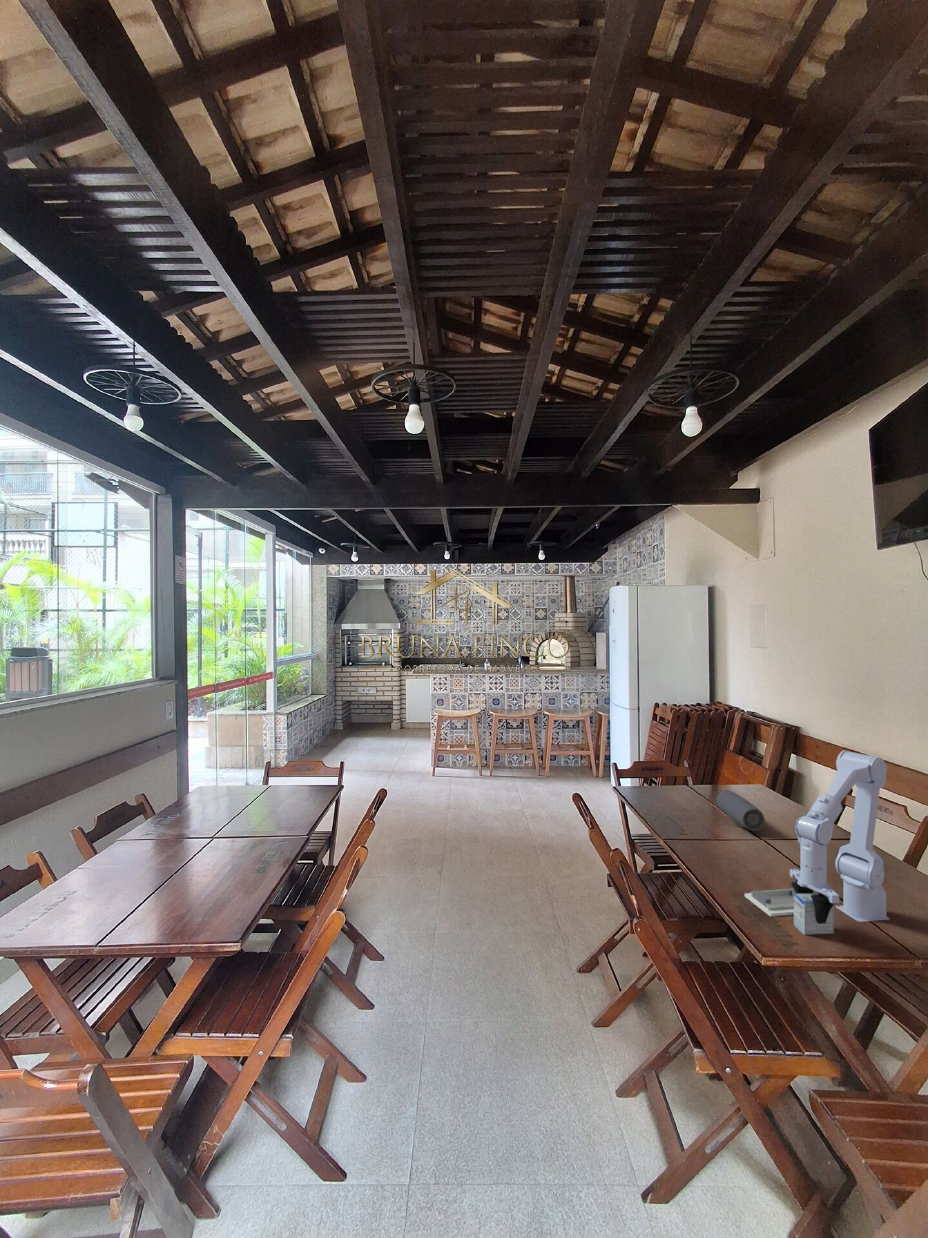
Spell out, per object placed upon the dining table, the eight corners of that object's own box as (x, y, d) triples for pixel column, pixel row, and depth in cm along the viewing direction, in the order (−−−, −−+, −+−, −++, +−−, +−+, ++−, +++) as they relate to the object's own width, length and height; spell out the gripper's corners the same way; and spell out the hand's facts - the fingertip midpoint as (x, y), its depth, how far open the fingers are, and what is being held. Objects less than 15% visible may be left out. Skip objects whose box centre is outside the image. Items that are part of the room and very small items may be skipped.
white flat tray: (791, 892, 162) (791, 882, 162) (820, 912, 151) (820, 901, 151) (744, 896, 160) (744, 885, 160) (770, 916, 149) (770, 905, 149)
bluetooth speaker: (766, 834, 206) (766, 807, 206) (741, 834, 207) (741, 807, 207) (737, 812, 229) (737, 788, 229) (715, 812, 229) (715, 788, 229)
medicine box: (822, 925, 145) (822, 892, 145) (834, 935, 141) (834, 901, 141) (793, 926, 145) (793, 893, 145) (804, 935, 140) (804, 901, 140)
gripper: (779, 853, 149) (779, 903, 149) (821, 878, 135) (821, 934, 135) (803, 852, 150) (803, 902, 150) (847, 876, 136) (847, 932, 136)
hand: (813, 917), depth 143 cm, fingers closed on medicine box, 5 cm apart
